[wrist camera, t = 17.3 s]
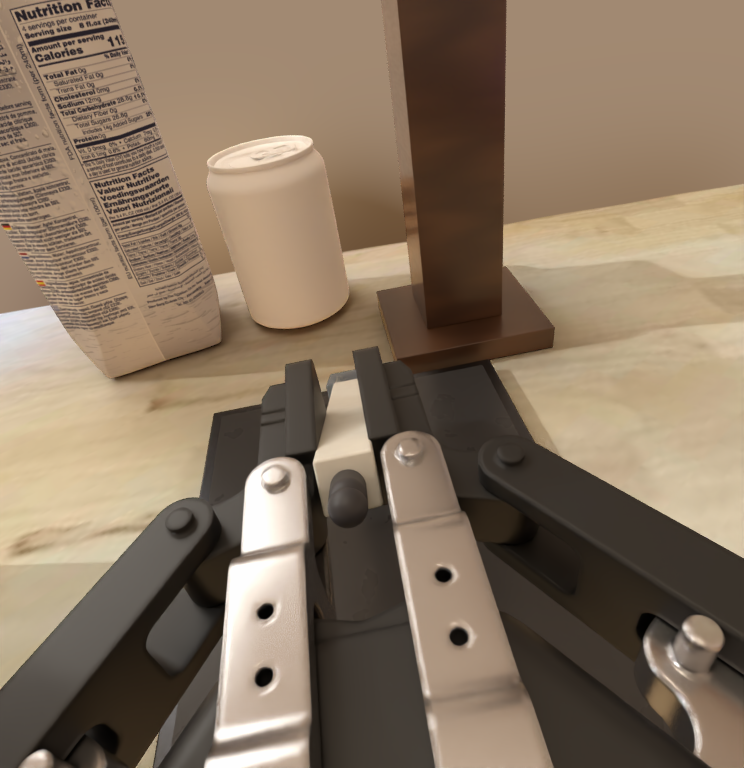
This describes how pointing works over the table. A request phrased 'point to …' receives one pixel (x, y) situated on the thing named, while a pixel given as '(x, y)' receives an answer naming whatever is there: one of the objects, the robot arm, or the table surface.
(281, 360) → the table surface
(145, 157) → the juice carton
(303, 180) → the beverage can
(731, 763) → the robot arm
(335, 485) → the white and grey stick
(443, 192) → the stand
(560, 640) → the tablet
